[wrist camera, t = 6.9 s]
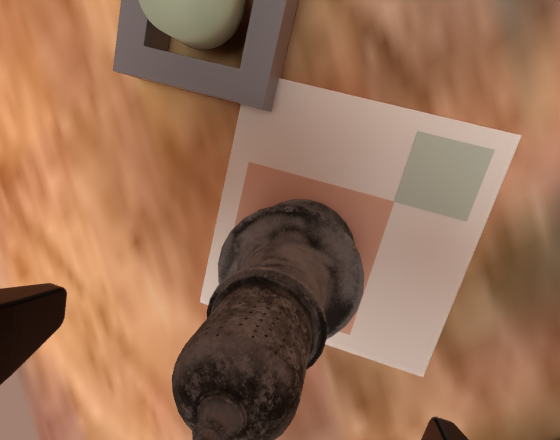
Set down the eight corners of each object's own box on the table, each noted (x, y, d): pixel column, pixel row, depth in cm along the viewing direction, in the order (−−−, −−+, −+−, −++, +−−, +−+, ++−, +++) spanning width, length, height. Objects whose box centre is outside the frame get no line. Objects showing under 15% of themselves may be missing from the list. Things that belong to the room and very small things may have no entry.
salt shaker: (249, 183, 17) (49, 261, 6) (373, 203, 17) (417, 342, 5) (237, 294, 19) (53, 532, 7) (350, 319, 18) (343, 638, 6)
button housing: (311, -57, 15) (305, -85, 13) (272, 112, 17) (262, 108, 15) (160, -84, 16) (134, -115, 14) (138, 78, 18) (112, 70, 16)
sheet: (518, 135, 15) (522, 135, 15) (421, 373, 18) (423, 378, 18) (249, 71, 17) (247, 70, 16) (201, 300, 20) (198, 302, 19)
